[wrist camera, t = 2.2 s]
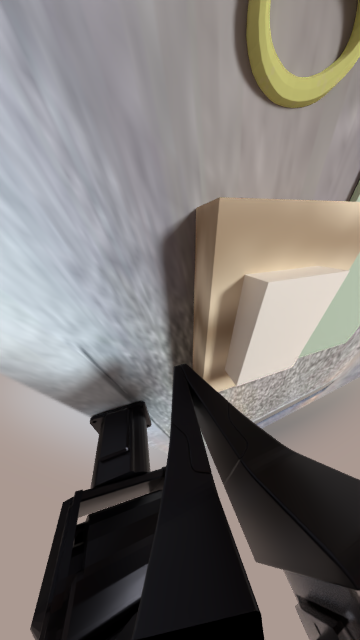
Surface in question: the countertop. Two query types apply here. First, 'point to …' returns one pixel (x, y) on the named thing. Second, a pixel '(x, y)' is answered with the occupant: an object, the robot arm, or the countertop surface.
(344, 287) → the mat
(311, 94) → the key
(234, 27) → the countertop surface
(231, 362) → the white flat block
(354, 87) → the countertop surface
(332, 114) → the countertop surface
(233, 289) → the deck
